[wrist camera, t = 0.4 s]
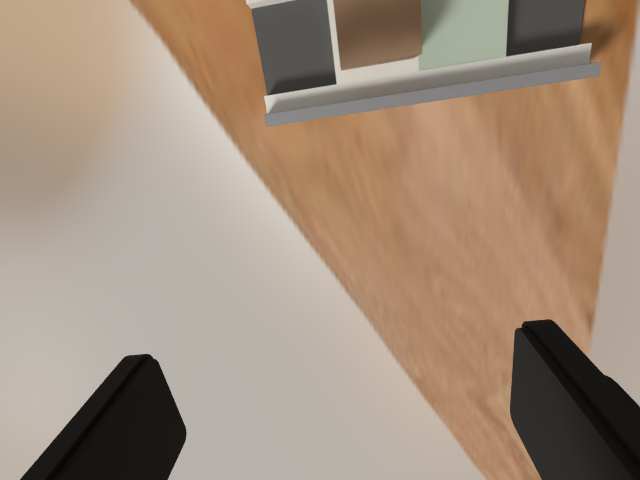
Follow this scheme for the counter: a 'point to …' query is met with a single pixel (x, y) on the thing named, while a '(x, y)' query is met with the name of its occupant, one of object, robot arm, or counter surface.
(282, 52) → the board
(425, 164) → the counter surface
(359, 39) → the walnut block
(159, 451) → the robot arm
